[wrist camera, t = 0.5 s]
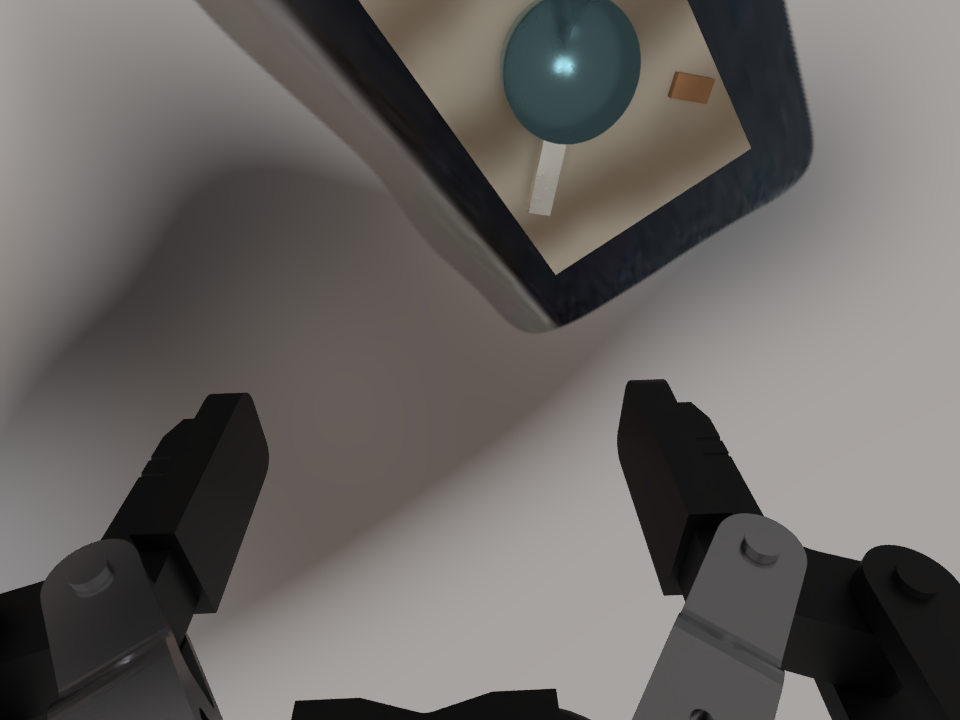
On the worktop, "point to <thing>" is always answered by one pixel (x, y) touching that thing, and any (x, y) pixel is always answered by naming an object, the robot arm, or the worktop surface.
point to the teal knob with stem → (567, 79)
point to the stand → (588, 165)
